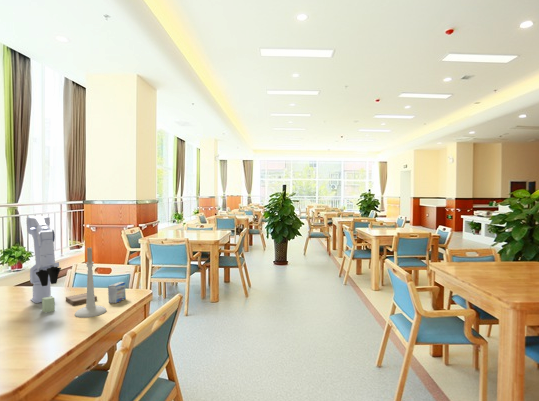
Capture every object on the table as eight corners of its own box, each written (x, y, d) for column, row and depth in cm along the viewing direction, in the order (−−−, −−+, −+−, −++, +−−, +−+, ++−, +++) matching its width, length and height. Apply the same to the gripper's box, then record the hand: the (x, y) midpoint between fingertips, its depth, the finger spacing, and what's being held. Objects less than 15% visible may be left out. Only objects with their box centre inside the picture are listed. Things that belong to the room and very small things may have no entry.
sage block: (42, 310, 163) (41, 298, 163) (52, 308, 166) (51, 296, 166) (44, 312, 161) (44, 299, 161) (54, 310, 164) (54, 297, 164)
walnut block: (65, 302, 178) (65, 297, 178) (88, 297, 186) (88, 292, 186) (73, 306, 171) (73, 301, 171) (97, 301, 179) (96, 296, 179)
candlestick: (112, 309, 164) (111, 245, 164) (91, 318, 152) (89, 249, 152) (90, 307, 168) (89, 244, 168) (67, 316, 156) (66, 248, 155)
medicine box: (116, 303, 174) (115, 285, 173) (108, 303, 175) (107, 285, 174) (125, 298, 181) (125, 281, 181) (118, 298, 182) (117, 281, 182)
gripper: (29, 258, 166) (31, 288, 163) (47, 253, 159) (49, 283, 157) (45, 257, 172) (47, 285, 169) (62, 252, 165) (64, 281, 163)
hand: (49, 284), depth 163 cm, fingers open, 7 cm apart
